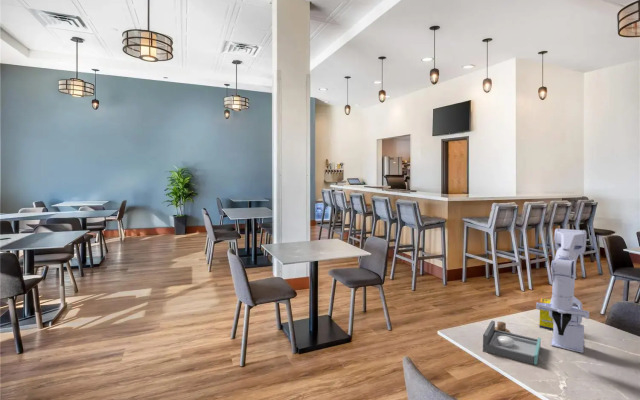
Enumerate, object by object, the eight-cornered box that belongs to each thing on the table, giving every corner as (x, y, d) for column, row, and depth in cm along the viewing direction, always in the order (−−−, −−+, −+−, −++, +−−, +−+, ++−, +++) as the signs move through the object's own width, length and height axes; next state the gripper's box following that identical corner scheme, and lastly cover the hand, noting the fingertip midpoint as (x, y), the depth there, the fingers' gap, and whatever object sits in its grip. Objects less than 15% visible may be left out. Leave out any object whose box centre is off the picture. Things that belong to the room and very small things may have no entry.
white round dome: (514, 343, 127) (514, 337, 127) (513, 348, 123) (513, 343, 122) (498, 339, 130) (498, 334, 130) (496, 345, 125) (496, 339, 125)
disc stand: (510, 330, 140) (510, 322, 140) (508, 336, 135) (508, 327, 135) (494, 327, 144) (494, 319, 144) (491, 332, 139) (492, 323, 139)
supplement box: (539, 322, 148) (540, 297, 148) (556, 325, 145) (557, 300, 144) (538, 327, 144) (539, 301, 143) (556, 330, 140) (557, 304, 140)
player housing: (537, 346, 127) (537, 330, 127) (533, 364, 114) (534, 347, 114) (491, 335, 136) (491, 320, 136) (482, 351, 123) (483, 334, 123)
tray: (540, 346, 126) (540, 337, 126) (536, 364, 114) (537, 355, 113) (495, 335, 135) (495, 327, 135) (487, 351, 122) (487, 343, 122)
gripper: (536, 293, 116) (534, 332, 117) (590, 302, 108) (588, 344, 108) (537, 288, 122) (536, 325, 123) (589, 296, 113) (587, 336, 114)
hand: (561, 334), depth 116 cm, fingers closed
